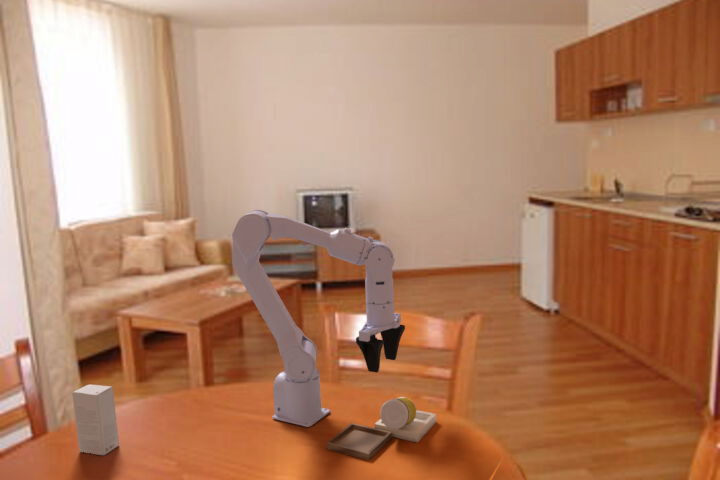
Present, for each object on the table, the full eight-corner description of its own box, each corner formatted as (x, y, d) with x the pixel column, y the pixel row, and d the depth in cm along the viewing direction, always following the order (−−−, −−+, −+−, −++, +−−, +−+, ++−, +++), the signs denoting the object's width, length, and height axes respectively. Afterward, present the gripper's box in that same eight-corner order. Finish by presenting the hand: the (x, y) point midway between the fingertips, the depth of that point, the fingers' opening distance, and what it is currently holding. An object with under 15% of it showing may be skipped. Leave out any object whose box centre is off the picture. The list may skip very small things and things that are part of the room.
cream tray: (375, 432, 110) (374, 423, 109) (395, 414, 117) (395, 405, 117) (417, 442, 105) (417, 433, 105) (436, 422, 113) (436, 414, 113)
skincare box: (120, 445, 109) (113, 386, 107) (103, 456, 105) (96, 395, 103) (95, 441, 111) (88, 383, 109) (78, 452, 107) (71, 392, 105)
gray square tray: (326, 449, 104) (326, 443, 104) (351, 428, 112) (351, 422, 112) (368, 460, 100) (368, 453, 99) (392, 438, 107) (392, 432, 107)
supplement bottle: (407, 430, 103) (421, 423, 112) (406, 399, 104) (419, 395, 113) (379, 429, 105) (394, 423, 114) (378, 399, 106) (393, 395, 115)
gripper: (380, 311, 107) (382, 380, 109) (412, 294, 119) (414, 356, 121) (348, 308, 110) (351, 374, 112) (383, 292, 123) (385, 352, 124)
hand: (382, 365), depth 117 cm, fingers open, 7 cm apart
